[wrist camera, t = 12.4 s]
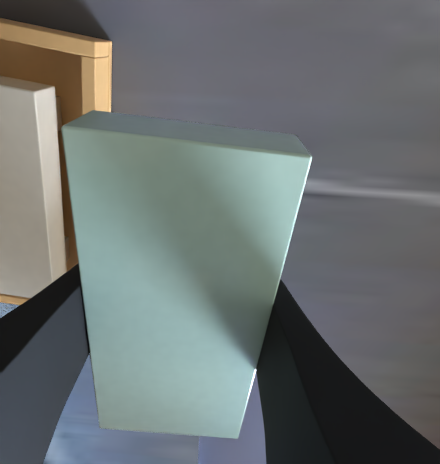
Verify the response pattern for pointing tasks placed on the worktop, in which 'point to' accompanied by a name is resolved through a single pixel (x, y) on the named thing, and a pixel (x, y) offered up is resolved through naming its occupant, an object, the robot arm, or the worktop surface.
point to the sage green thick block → (179, 262)
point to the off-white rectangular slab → (30, 188)
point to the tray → (59, 87)
